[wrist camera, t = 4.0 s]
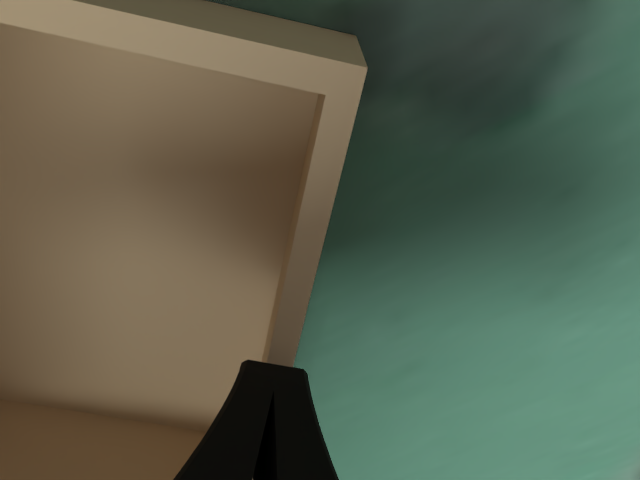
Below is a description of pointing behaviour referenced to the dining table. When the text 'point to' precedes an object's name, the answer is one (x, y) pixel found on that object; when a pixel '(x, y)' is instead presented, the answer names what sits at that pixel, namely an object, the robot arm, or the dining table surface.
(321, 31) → the box
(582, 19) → the dining table surface
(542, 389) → the dining table surface
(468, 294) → the dining table surface
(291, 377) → the robot arm
